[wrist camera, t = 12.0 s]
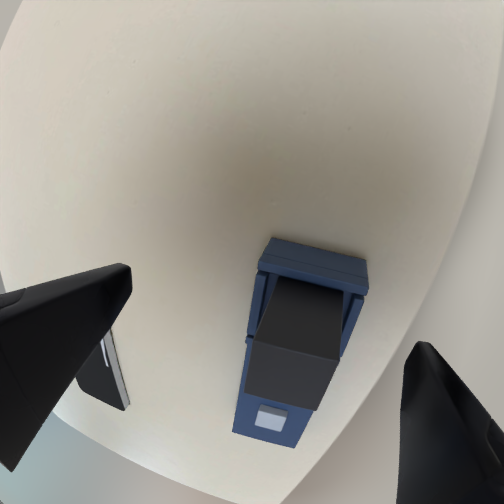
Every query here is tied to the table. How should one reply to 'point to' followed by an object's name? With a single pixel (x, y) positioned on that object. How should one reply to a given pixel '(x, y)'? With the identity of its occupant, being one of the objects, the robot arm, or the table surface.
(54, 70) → the table surface
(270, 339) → the block
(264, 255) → the blue long open box
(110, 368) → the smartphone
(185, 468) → the table surface
